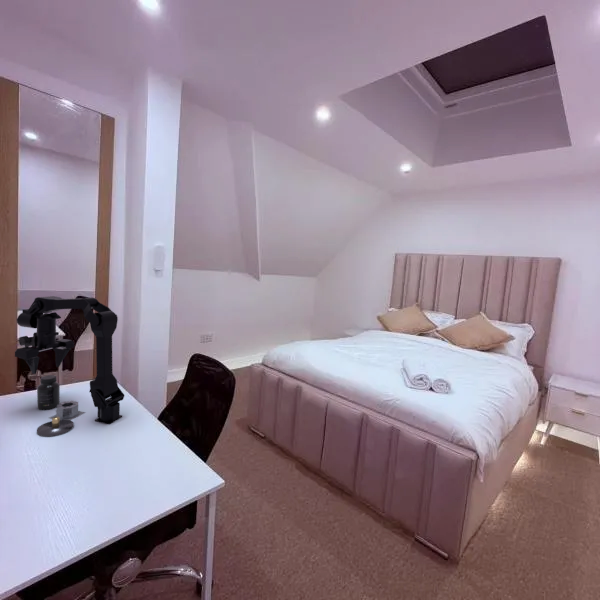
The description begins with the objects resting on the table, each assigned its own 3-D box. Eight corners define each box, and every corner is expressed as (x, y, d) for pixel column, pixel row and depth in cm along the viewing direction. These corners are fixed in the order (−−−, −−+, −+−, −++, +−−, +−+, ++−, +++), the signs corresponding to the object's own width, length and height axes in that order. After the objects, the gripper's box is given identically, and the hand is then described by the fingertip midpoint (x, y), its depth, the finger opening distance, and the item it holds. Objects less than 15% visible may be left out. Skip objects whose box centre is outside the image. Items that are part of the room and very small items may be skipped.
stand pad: (85, 413, 123) (85, 412, 123) (66, 422, 115) (66, 421, 115) (68, 409, 124) (68, 408, 124) (48, 418, 117) (48, 418, 117)
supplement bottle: (40, 404, 127) (40, 374, 125) (61, 402, 130) (61, 373, 128) (34, 412, 120) (34, 380, 119) (57, 410, 123) (57, 379, 122)
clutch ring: (82, 412, 122) (82, 402, 122) (66, 420, 116) (67, 409, 115) (68, 410, 123) (68, 399, 123) (52, 417, 117) (52, 406, 117)
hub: (81, 425, 114) (81, 414, 113) (54, 440, 104) (54, 427, 104) (57, 420, 116) (57, 409, 115) (28, 434, 106) (28, 422, 106)
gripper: (52, 323, 133) (52, 360, 134) (2, 331, 115) (2, 374, 116) (75, 326, 131) (74, 364, 132) (27, 335, 112) (27, 379, 114)
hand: (46, 370), depth 124 cm, fingers open, 9 cm apart
